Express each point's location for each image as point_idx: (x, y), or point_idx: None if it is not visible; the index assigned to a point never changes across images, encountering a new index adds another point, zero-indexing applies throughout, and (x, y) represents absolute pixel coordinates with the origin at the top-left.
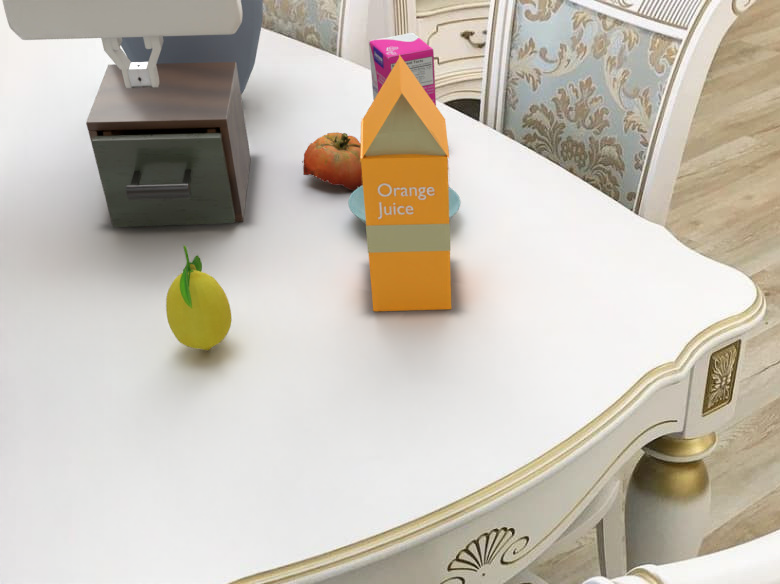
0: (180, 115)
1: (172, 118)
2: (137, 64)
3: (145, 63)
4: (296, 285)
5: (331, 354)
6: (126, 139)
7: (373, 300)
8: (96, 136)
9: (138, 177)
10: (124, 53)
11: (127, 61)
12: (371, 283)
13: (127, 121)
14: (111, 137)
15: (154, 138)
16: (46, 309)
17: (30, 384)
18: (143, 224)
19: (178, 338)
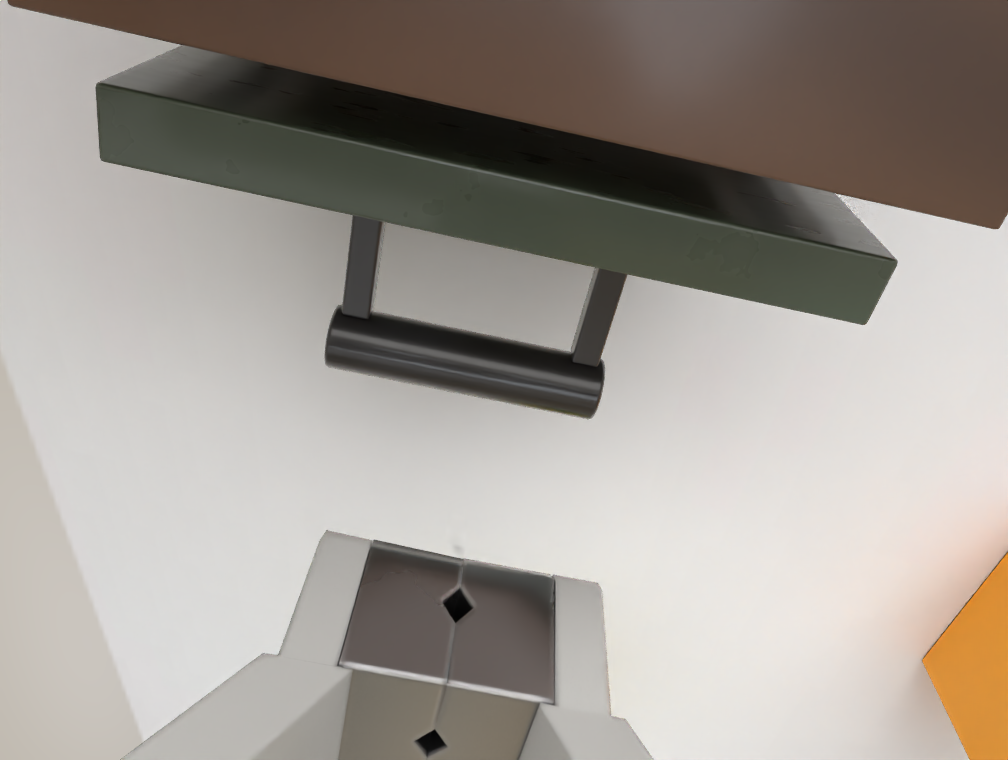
0: (713, 69)
1: (643, 117)
2: (420, 718)
3: (502, 729)
4: (799, 520)
5: (757, 748)
6: (316, 199)
7: (936, 684)
8: (118, 101)
9: (381, 230)
10: (279, 731)
11: (319, 745)
12: (955, 726)
13: (316, 70)
14: (219, 146)
15: (487, 238)
16: (127, 453)
17: (159, 685)
18: None
19: None
